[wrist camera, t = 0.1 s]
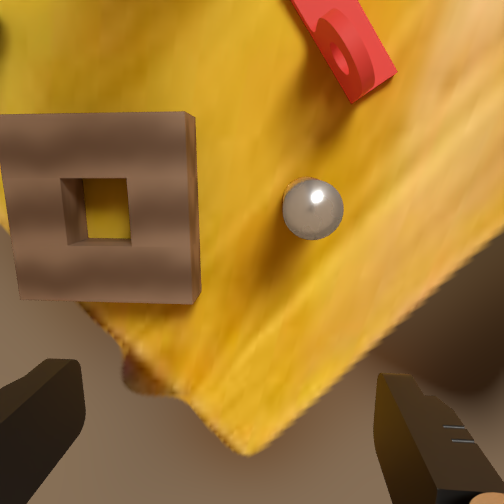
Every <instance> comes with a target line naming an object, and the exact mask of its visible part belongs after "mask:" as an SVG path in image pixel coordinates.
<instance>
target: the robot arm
mask: <svg viewBox="0 0 504 504" xmlns="http://www.w3.org/2000/svg"><path fill="white" fill-rule="evenodd" d="M85 412H86V409H85V400H84V391H83V383H82V374H81V367H80V364H79V362H78V361H77V360H72V359H46V360H44V361H43V362H42V363H40V364H39V365H38V366H37V367H35V368H34V369H33V370H32V371H31V372H29V373H28V374H27V375H25V376H24V377H22V378H20V379H18V380H16V381H14V382H12V383H10V384H8V385H6V386H4V387H2V388H1V389H0V504H27V502H28V501H29V500H30V498H31V497H32V496H33V494H34V493H35V492H36V490H37V489H38V488H39V487H40V485H41V484H42V483H43V481H44V480H45V479H46V477H47V476H48V474H49V473H50V472H51V471H52V470H53V468H54V467H55V466H56V464H57V463H58V461H59V460H60V459H61V458H62V456H63V455H64V454H65V453H66V451H67V450H68V449H69V447H70V446H71V445H72V443H73V442H74V441H75V439H76V438H77V437H78V435H79V434H80V432H81V430H82V427H83V425H84V421H85V415H86V413H85ZM373 432H374V433H373V434H374V444H375V450H376V454H377V457H378V460H379V463H380V466H381V469H382V473H383V475H384V479H385V482H386V485H387V488H388V491H389V494H390V497H391V500H392V503H393V504H504V482H503V481H502V479H501V478H500V476H499V475H498V474H497V472H496V471H495V469H494V468H493V466H492V465H491V463H490V462H489V461H488V459H487V458H486V456H485V455H484V453H483V452H482V451H481V449H480V448H479V446H478V445H477V444H475V443H474V439H473V438H472V436H471V435H470V433H469V432H468V431H467V429H465V428H464V425H463V423H462V422H461V420H460V419H459V418H458V416H457V415H456V413H455V412H454V410H453V409H451V408H450V407H449V406H447V405H446V404H445V403H443V402H442V401H441V400H440V399H438V398H437V397H436V396H426V395H423V393H422V391H421V390H420V388H419V387H418V385H417V383H416V381H415V380H414V378H413V377H412V376H411V375H410V374H394V373H380V374H379V375H378V379H377V388H376V400H375V413H374V427H373Z"/></svg>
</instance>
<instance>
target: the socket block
mask: <svg viewBox="0 0 504 504" xmlns="http://www.w3.org/2000/svg"><path fill="white" fill-rule="evenodd" d="M0 166H1V173H2V180H3V187H4V193H5V200H6V207H7V213H8V220H9V227H10V234H11V240H12V247H13V254H14V260H15V267H16V274H17V280H18V287H19V294H20V300H49V301H86V302H124V303H162V304H193V303H194V302H195V300H196V299H197V297H198V296H199V294H200V293H201V268H200V239H199V211H198V183H197V155H196V127H195V117H194V116H192V115H190V114H188V113H186V112H185V111H184V112H123V113H62V114H1V115H0ZM82 178H127V190H128V203H129V216H130V229H131V239H114V238H88V230H87V221H86V211H85V201H84V191H83V181H82Z"/></svg>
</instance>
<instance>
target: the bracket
mask: <svg viewBox="0 0 504 504" xmlns="http://www.w3.org/2000/svg"><path fill="white" fill-rule="evenodd" d="M290 1H291V2H292V4H293V6H294V7H295V9H296V11H297V12H298V14H299V16H300V18H301V19H302V21H303V23H304V24H305V26H306V28H307V29H308V31H309V33H310V35H311V36H312V38H313V40H314V41H315V43H316V45H317V46H318V48H319V50H320V52H321V53H322V55H323V57H324V58H325V60H326V62H327V63H328V65H329V67H330V69H331V70H332V72H333V74H334V75H335V77H336V79H337V80H338V82H339V84H340V86H341V87H342V89H343V91H344V92H345V94H346V96H347V97H348V99H349V101H350V103H351V104H352V103H354V102H355V101H356V100H358V99H359V98H361V97H362V96H364V95H365V94H367V93H368V92H370V91H371V90H373V89H374V88H376V87H377V86H378V85H380V84H381V83H383V82H384V81H386V80H387V79H389V78H390V77H392V76H393V75H395V74H396V73H397V70H396V68H395V66H394V64H393V63H392V61H391V59H390V57H389V55H388V54H387V52H386V50H385V48H384V47H383V45H382V43H381V41H380V39H379V38H378V36H377V34H376V32H375V31H374V29H373V27H372V25H371V23H370V22H369V20H368V18H367V16H366V14H365V13H364V11H363V9H362V7H361V6H360V4H359V2H358V0H290Z"/></svg>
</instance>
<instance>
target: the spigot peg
mask: <svg viewBox="0 0 504 504" xmlns="http://www.w3.org/2000/svg"><path fill="white" fill-rule="evenodd" d="M342 216H343V202H342V199H341V196H340V194H339V193H338V191H337V190H336V189H335V188H334V187H333V186H331V185H330V184H328V183H326V182H324V181H321V180H318V179H315V178H312V177H300V178H297V179H295V180H294V181H292V182H291V183H290V184H289V185H288V186H287V188H286V190H285V192H284V195H283V217H284V221H285V223H286V225H287V227H288V228H289V229H290V230H291V232H293V233H294V234H295V235H297V236H298V237H300V238H303V239H307V240H317V239H321V238H324V237H326V236H328V235H330V234H331V233H332V232H334V231H335V230H336V228H337V227H338V226H339V224H340V222H341V220H342Z"/></svg>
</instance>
